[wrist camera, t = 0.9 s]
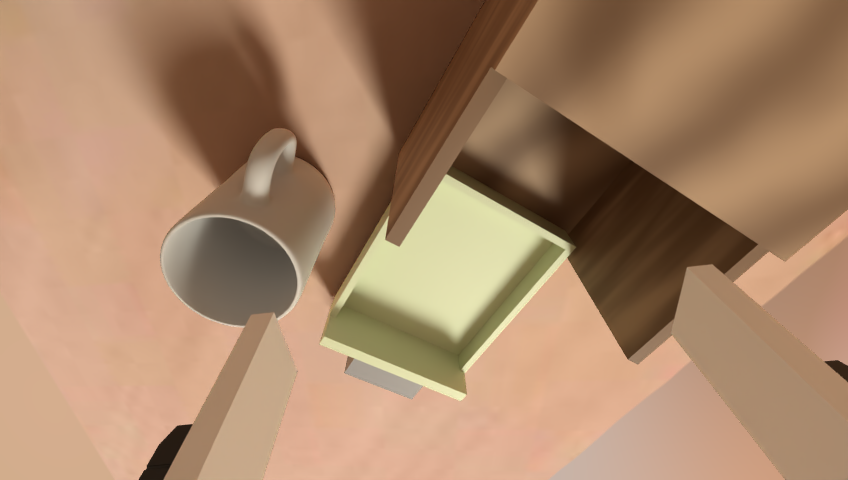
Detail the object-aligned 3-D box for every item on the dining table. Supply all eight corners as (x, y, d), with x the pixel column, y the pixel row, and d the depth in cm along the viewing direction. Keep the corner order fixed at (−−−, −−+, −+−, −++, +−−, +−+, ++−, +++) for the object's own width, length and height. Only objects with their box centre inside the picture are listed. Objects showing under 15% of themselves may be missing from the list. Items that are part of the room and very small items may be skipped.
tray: (318, 324, 40) (304, 366, 35) (421, 148, 31) (422, 173, 26) (442, 375, 43) (444, 420, 38) (565, 230, 35) (587, 265, 30)
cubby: (399, 153, 32) (383, 250, 19) (531, -82, 25) (654, -188, 12) (564, 245, 36) (646, 377, 23) (719, 67, 29) (964, 112, 16)
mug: (324, 256, 37) (290, 342, 27) (228, 230, 35) (155, 311, 26) (357, 129, 31) (328, 182, 21) (244, 92, 30) (159, 130, 20)
